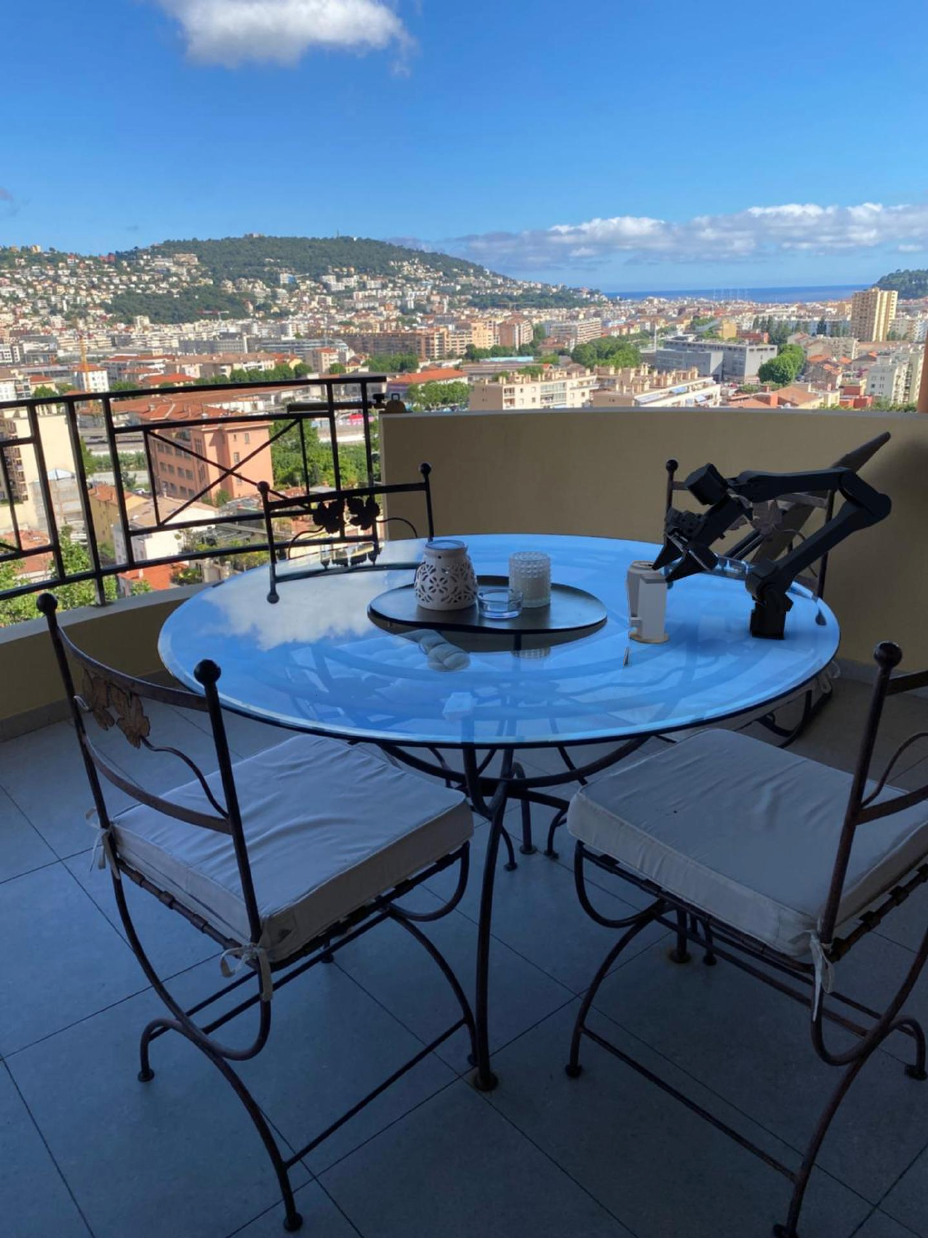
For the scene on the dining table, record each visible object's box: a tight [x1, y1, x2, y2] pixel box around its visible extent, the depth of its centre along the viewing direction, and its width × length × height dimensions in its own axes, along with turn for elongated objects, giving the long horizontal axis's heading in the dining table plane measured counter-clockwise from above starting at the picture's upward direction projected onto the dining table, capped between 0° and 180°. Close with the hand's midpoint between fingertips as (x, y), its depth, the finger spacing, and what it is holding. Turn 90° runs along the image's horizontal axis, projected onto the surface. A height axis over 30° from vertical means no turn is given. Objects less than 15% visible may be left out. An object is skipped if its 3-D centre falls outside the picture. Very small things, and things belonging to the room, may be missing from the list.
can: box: [626, 559, 662, 617], centre depth 187 cm, size 8×8×12 cm
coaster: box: [629, 629, 670, 644], centre depth 173 cm, size 8×8×1 cm
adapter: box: [630, 572, 669, 639], centre depth 171 cm, size 8×4×13 cm, turn 95°
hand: (659, 575), depth 169 cm, fingers open, 9 cm apart
